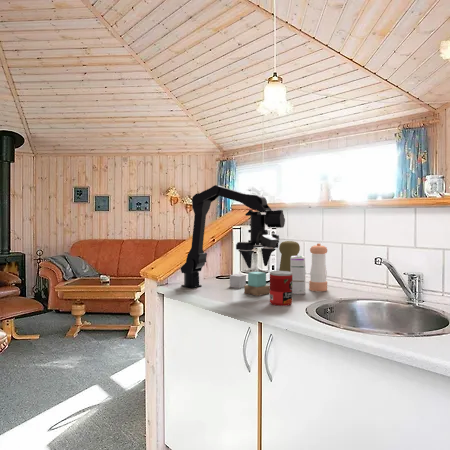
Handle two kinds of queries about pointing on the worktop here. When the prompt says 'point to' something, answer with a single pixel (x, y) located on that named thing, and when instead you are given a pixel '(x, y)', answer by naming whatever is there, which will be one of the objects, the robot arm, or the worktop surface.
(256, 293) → the oak slab
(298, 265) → the syrup box
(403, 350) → the worktop surface
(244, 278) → the grey cube
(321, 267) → the pepper shaker
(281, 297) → the canned food
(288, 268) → the pepper shaker
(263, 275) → the teal cube
